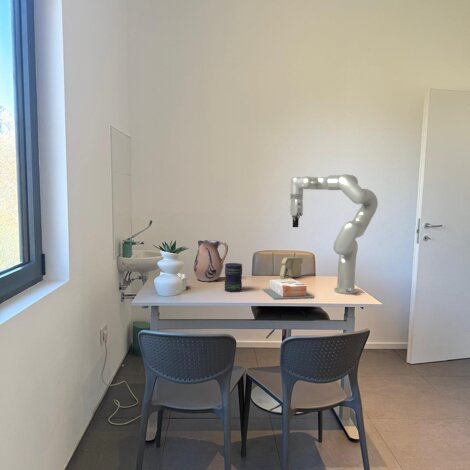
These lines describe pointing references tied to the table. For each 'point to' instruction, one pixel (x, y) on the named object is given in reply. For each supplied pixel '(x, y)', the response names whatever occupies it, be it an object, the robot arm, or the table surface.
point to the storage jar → (233, 277)
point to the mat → (277, 296)
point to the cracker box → (287, 287)
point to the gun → (291, 267)
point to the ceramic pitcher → (209, 260)
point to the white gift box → (182, 281)
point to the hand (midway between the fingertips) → (295, 227)
